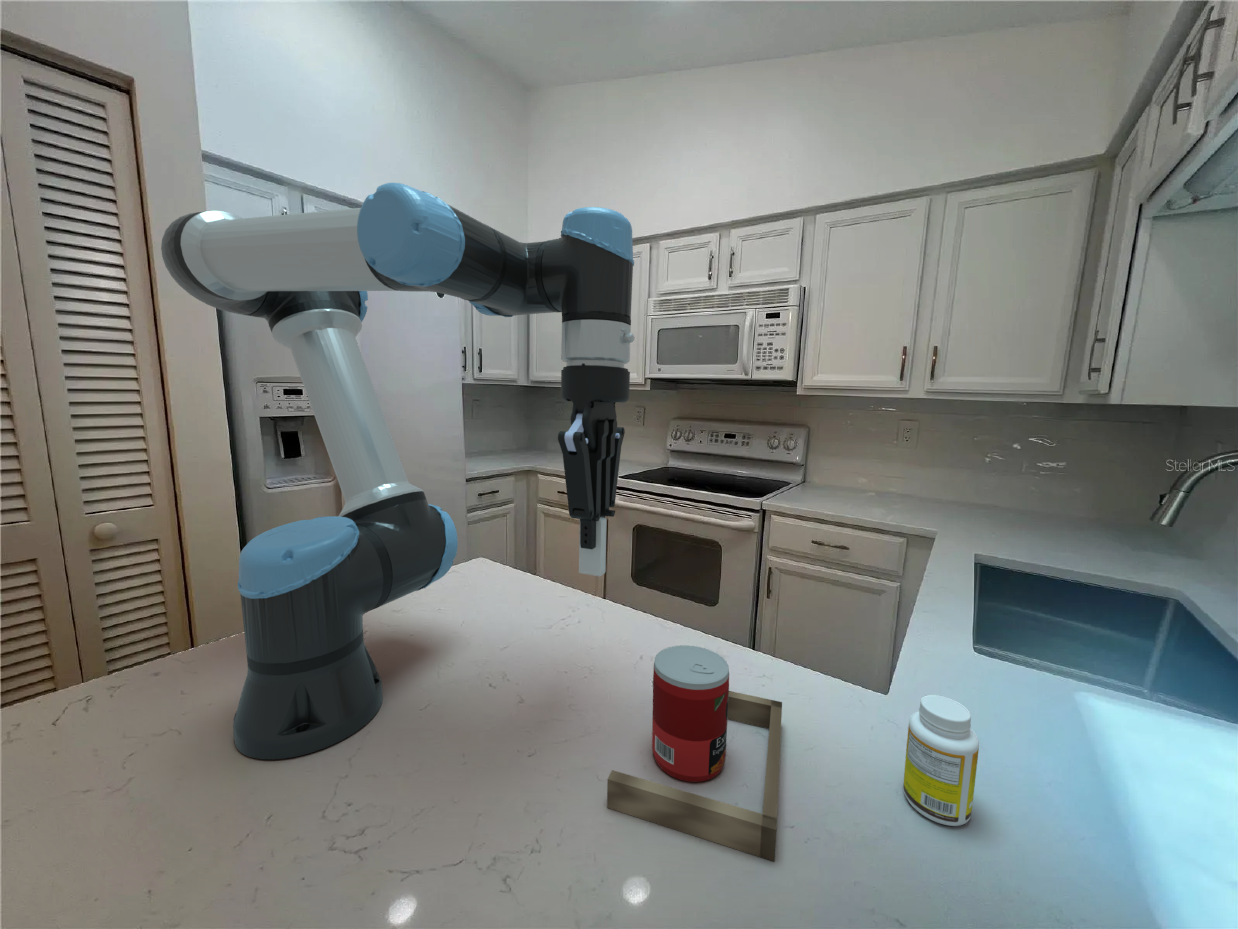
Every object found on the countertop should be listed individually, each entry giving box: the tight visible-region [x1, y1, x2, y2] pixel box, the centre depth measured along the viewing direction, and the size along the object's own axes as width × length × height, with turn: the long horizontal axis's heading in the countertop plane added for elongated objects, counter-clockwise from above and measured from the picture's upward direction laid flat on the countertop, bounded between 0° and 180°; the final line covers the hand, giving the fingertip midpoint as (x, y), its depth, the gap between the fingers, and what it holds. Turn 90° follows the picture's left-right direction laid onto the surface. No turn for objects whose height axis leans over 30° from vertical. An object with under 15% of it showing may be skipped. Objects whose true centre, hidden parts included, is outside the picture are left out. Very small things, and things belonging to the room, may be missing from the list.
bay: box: [606, 690, 783, 863], centre depth 51 cm, size 15×18×3 cm
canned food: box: [651, 644, 730, 783], centre depth 51 cm, size 8×8×11 cm
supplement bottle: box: [902, 694, 980, 827], centre depth 46 cm, size 6×6×10 cm
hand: (592, 572), depth 55 cm, fingers closed
